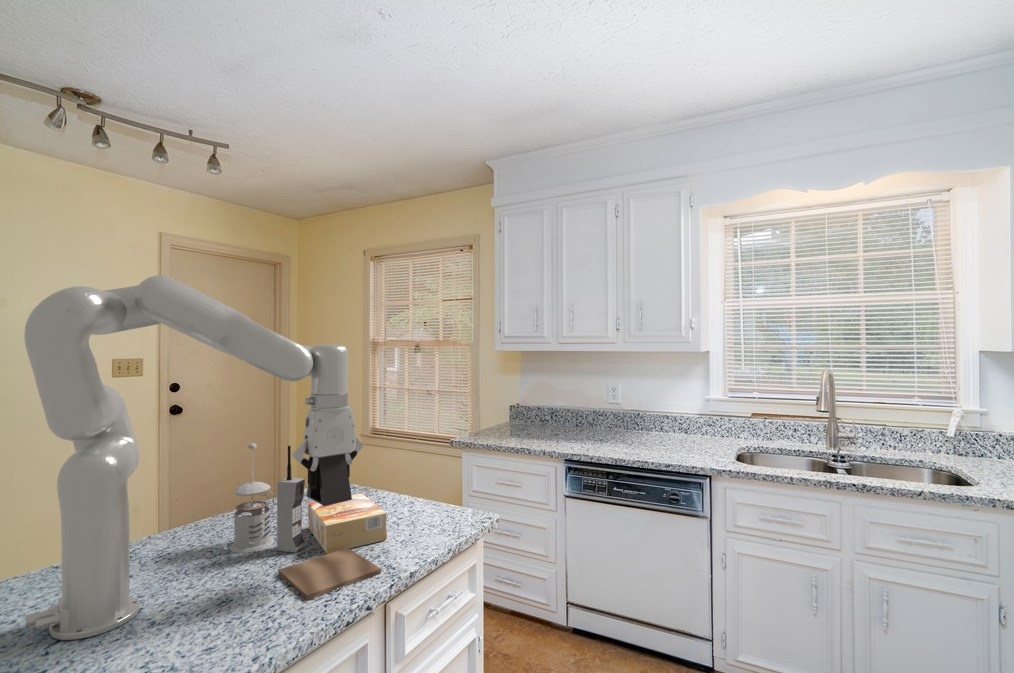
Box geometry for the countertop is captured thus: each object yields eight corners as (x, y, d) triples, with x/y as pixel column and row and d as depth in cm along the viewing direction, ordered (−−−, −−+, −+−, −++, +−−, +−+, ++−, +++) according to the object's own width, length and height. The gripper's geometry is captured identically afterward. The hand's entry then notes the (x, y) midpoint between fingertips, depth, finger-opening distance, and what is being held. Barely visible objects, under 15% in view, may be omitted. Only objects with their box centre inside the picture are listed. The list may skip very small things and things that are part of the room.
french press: (219, 550, 120) (219, 446, 120) (255, 532, 131) (255, 436, 131) (254, 555, 118) (254, 448, 118) (287, 535, 129) (287, 438, 129)
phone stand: (351, 500, 107) (352, 443, 107) (324, 506, 103) (325, 448, 103) (332, 490, 114) (333, 437, 114) (306, 496, 109) (306, 441, 109)
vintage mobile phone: (295, 553, 118) (295, 447, 118) (277, 551, 119) (277, 446, 119) (305, 546, 122) (305, 444, 122) (286, 545, 123) (287, 443, 123)
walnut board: (307, 600, 97) (307, 595, 97) (278, 574, 108) (278, 569, 108) (380, 573, 109) (380, 568, 109) (347, 551, 119) (347, 547, 119)
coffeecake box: (325, 524, 118) (307, 502, 134) (326, 555, 118) (307, 529, 134) (387, 511, 126) (362, 492, 142) (387, 540, 126) (363, 517, 142)
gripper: (296, 407, 100) (295, 498, 100) (374, 400, 112) (373, 481, 112) (281, 403, 105) (281, 489, 105) (357, 397, 117) (357, 474, 117)
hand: (329, 484), depth 108 cm, fingers closed on phone stand, 6 cm apart
